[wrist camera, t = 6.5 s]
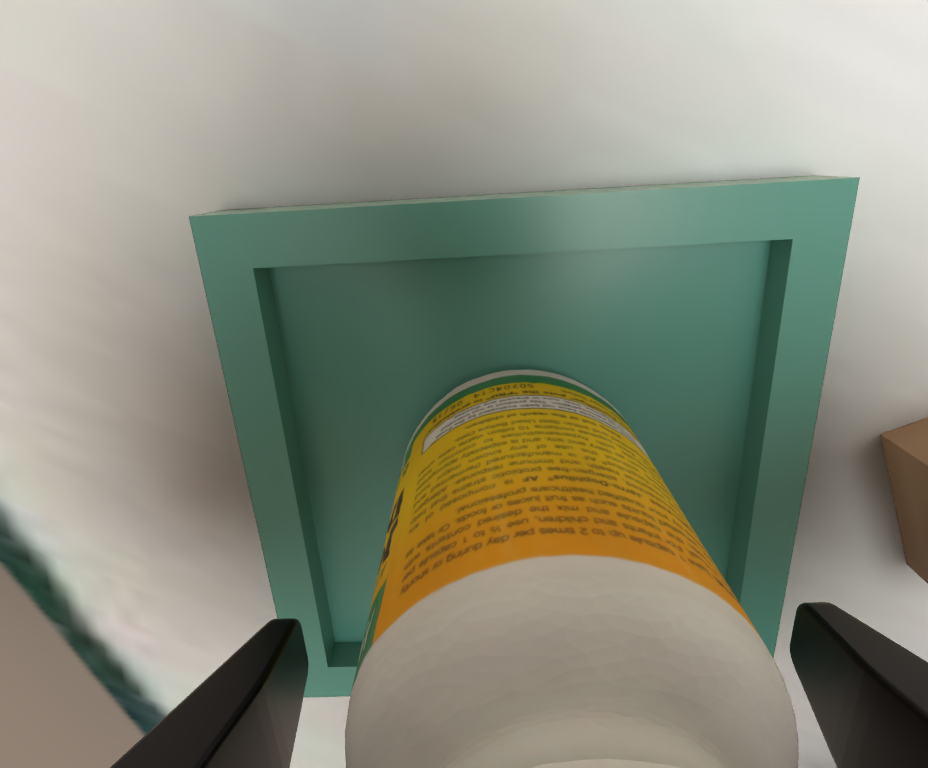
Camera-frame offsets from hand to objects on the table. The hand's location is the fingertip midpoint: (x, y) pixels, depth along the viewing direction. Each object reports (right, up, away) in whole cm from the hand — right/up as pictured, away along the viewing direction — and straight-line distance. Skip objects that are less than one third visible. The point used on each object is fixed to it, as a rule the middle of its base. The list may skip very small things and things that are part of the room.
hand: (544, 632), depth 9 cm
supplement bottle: (0, +2, +5) cm, 5 cm away
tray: (0, +2, +5) cm, 6 cm away
